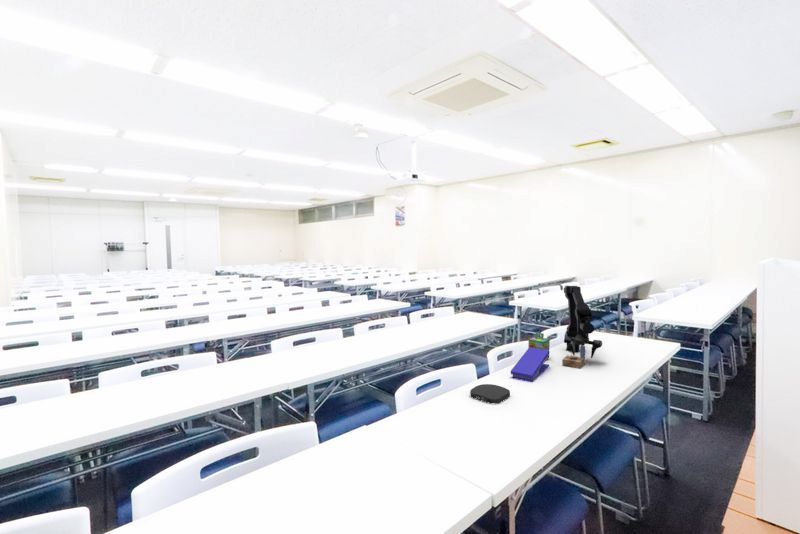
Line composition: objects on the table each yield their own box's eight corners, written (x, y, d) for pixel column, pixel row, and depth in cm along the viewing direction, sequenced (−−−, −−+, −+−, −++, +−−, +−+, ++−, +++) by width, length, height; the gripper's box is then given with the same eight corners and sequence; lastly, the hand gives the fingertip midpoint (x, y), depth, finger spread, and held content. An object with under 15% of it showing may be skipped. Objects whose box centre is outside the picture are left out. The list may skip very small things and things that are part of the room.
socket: (562, 365, 208) (562, 359, 208) (567, 361, 215) (567, 355, 215) (580, 368, 203) (580, 362, 203) (584, 364, 210) (584, 357, 210)
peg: (579, 360, 216) (579, 346, 216) (581, 359, 218) (581, 345, 218) (584, 361, 215) (584, 347, 214) (585, 360, 217) (585, 346, 216)
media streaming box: (513, 395, 171) (513, 389, 171) (496, 406, 161) (495, 399, 161) (484, 387, 181) (484, 381, 181) (466, 397, 171) (466, 390, 171)
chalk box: (527, 359, 221) (527, 333, 220) (534, 355, 228) (534, 330, 227) (543, 362, 215) (543, 336, 214) (549, 358, 222) (549, 332, 221)
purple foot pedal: (550, 367, 208) (550, 349, 207) (533, 383, 185) (533, 363, 185) (529, 363, 215) (528, 346, 214) (510, 378, 192) (510, 359, 192)
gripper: (561, 330, 215) (561, 357, 216) (598, 334, 203) (597, 363, 204) (566, 326, 223) (566, 352, 224) (602, 330, 212) (602, 358, 213)
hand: (582, 356), depth 216 cm, fingers open, 9 cm apart
